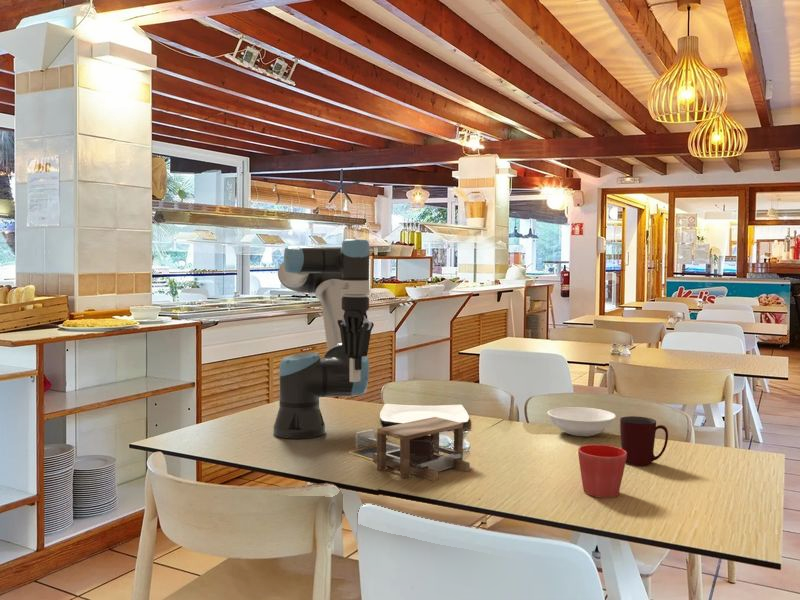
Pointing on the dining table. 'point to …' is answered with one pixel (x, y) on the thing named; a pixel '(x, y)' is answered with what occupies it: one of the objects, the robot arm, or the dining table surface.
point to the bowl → (581, 420)
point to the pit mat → (367, 452)
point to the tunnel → (413, 431)
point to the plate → (422, 413)
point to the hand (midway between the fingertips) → (355, 381)
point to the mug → (640, 439)
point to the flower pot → (601, 469)
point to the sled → (434, 464)
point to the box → (422, 448)
